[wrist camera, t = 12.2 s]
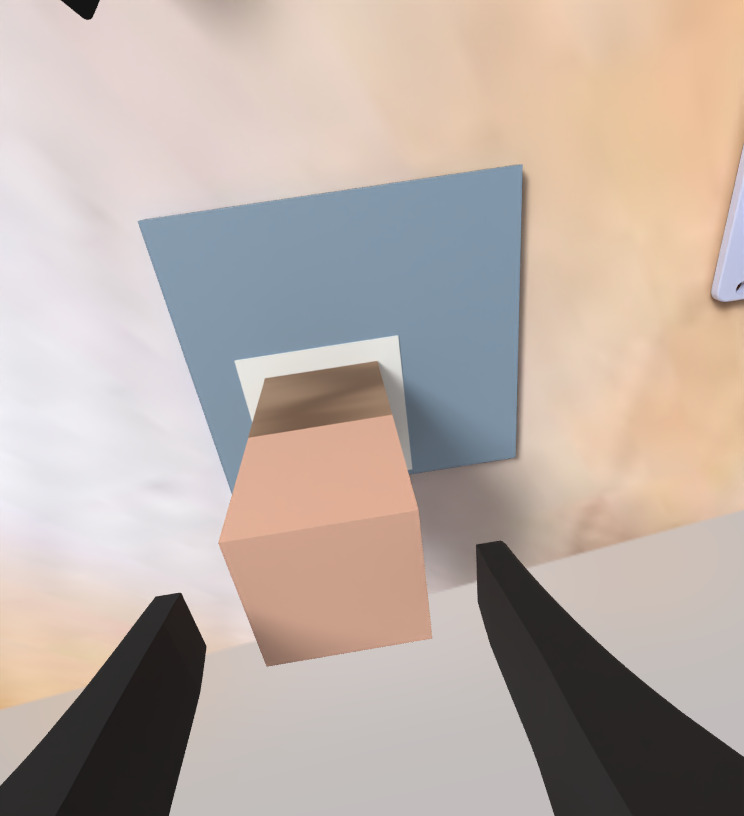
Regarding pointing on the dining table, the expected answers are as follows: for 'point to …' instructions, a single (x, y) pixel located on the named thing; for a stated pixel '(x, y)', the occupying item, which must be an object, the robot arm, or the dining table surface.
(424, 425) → the plate
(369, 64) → the dining table surface
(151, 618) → the robot arm
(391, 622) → the terracotta block
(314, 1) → the dining table surface
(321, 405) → the walnut block
